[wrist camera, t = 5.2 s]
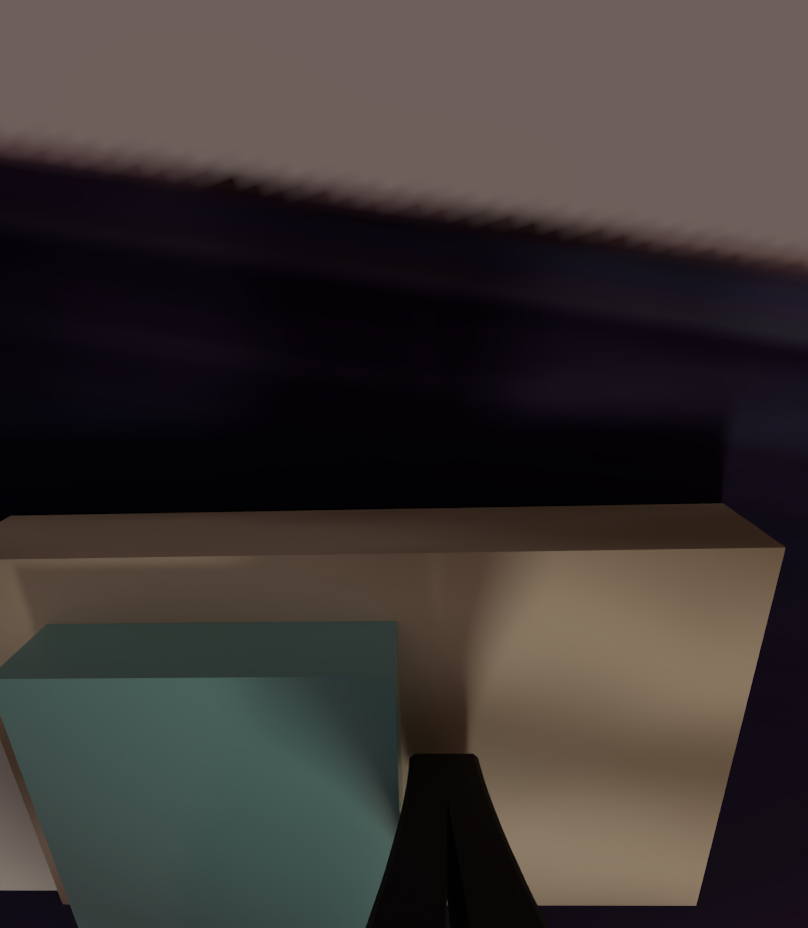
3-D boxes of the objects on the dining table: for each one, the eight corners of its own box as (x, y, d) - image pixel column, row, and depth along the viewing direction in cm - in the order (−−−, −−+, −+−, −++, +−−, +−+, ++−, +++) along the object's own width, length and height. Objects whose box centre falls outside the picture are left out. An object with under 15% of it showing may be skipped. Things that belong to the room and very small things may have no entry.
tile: (405, 864, 12) (404, 939, 11) (119, 863, 12) (81, 938, 11) (397, 621, 10) (395, 676, 9) (46, 623, 10) (-14, 679, 9)
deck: (659, 824, 14) (696, 906, 13) (107, 825, 15) (62, 904, 13) (722, 503, 11) (785, 547, 9) (10, 515, 12) (-68, 560, 10)
